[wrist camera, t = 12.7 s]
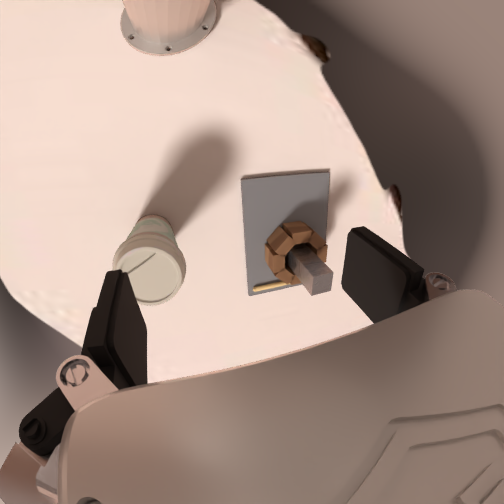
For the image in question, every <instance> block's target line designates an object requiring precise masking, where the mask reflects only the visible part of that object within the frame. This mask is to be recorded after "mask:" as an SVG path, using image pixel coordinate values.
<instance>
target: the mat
mask: <svg viewBox="0 0 504 504" xmlns="http://www.w3.org/2000/svg"><path fill="white" fill-rule="evenodd" d="M241 191H242V207H243V223H244V238H245V253H246V268H247V282H248V294H249V296H252V295H257V294H262V293H266V292H271V291H275V290H280V289H284V288H289V287H293V286H297V285H302V283H300V284H295V285H291V284H290V283H289V284H288V285H287V284H286V283H284V282H283V281H281V280H280V279H278V278H277V277H275V275H274V274H273V272H272V271H271V269H270V268H269V266H268V265H267V263H266V261H265V244H267V243H268V242H267V241H266V240H267V238H268V237H269V236H270V235H271V234H272V233H273V232H274V230H275V229H276V228H277V227H278V226H280V227H281V228H282V229H283V223H289V222H295V221H301V222H302V223H303V222H304V223H306V224H307V225H308V226H309V227H310V228H312V229H313V230H314V231H315V232H316V233H317V234H318V235H319V236H320V237H322V238H323V239H324V240H326V227H327V212H328V194H329V172H316V173H301V174H289V175H277V176H267V177H257V178H248V179H241ZM305 244H306V243H305ZM285 263H286V262H285Z"/></svg>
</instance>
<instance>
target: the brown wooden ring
mask: <svg viewBox="0 0 504 504" xmlns="http://www.w3.org/2000/svg"><path fill="white" fill-rule="evenodd" d="M266 241H267V242H268V243H267V244H265V261H266V263H267V265H268V266H269V268H270V269H271V271H272V272H273V274H274V275H275V277H277V278H278V279H280V280H281V281H283V282H284V283H286V284H287V285H288V284H289V283H290V284H291V285H295V284H300V283H301V281H300V280H299V279H298V277H297V276H296V275H295V273H294V272H293V271H292V270H291V268H290V267H289V266H288V264H287V263H285V255H286V254H287V253H288V252H289V251H290V250H291V248H292V247H293V246H294V245H295V244H301V243H306V245H307V246H308V247H309V248H310V249H311V250H312V251H313V252H314V253H315V254H316V255H317V256H318V257H319V258H320V259H321V260H322V261H323V262H326V257H327V247H328V245H326V244H325V243H326V241H325V240H324V239H323V238H322V237H320V236H319V235H318V234H317V233H316V232H315V231H314V230H313V229H312V228H310V227H309V226H308V225H307V224H306V223H304V222H303V223H302V222H301V221H295V222H289V223H283V229H282V228H281V227H280V226H278V227H277V228H276V229H275V230H274V232H273V233H272V234H271V235H270V236H269V237H268V238H267V240H266Z"/></svg>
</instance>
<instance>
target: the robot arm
mask: <svg viewBox="0 0 504 504" xmlns="http://www.w3.org/2000/svg"><path fill="white" fill-rule="evenodd" d="M122 1H123V4H124V6H125V8H124V10H123V13H122V15H121V22H120V25H121V31H122V34H123V36H124V38H125V40H126V41H127V42H128V43H129V45H130V46H132V47H133V48H134V49H136V50H137V51H140V52H142V53H145V54H149V55H156V56H165V55H173V54H177V53H181V52H183V51H186V50H188V49H190V48H192V47H194V46H195V45H197V44H198V43H200V42H201V41H202V40H203V39H204V38H205V37H206V36H207V35H208V34H209V32H210V31H211V29H212V27H213V25H214V23H215V19H216V15H217V13H216V5H215V1H214V0H122ZM203 28H206V29H207V30H203ZM132 37H134V39H132V40H131V38H132ZM167 49H171V50H170V51H167ZM423 272H424V269H423V268H422V267H420V266H419V265H418V264H417V263H415V262H414V261H413V260H411V259H410V258H409V257H407V256H406V255H404V254H403V253H402V252H400V251H399V250H398V249H396V248H395V247H393V246H392V245H391V244H389V243H388V242H386V241H385V240H383V239H382V238H381V237H379V236H378V235H376V234H375V233H373V232H372V231H370V230H369V229H367V228H366V227H364V226H362V227H356V228H352V229H351V231H350V232H349V233H348V237H347V245H346V253H345V261H344V268H343V274H342V281H341V284H342V288H343V290H344V291H345V292H346V293H347V294H348V295H349V296H350V297H351V298H352V300H353V301H354V302H355V303H356V304H357V305H358V306H359V307H360V308H361V309H362V311H363V312H364V313H365V314H366V315H367V316H368V317H369V318H370V320H371V321H372V322H373V323H374V324H372V325H370V326H367V327H364V328H362V329H359V330H356V331H353V332H351V333H348V334H345V335H342V336H339V337H337V338H334V339H331V340H328V341H325V342H322V343H319V344H315V345H312V346H309V347H306V348H303V349H299V350H296V351H293V352H289V353H286V354H282V355H279V356H275V357H271V358H268V359H264V360H260V361H256V362H252V363H248V364H244V365H240V366H236V367H231V368H227V369H222V370H218V371H213V372H208V373H203V374H198V375H193V376H188V377H182V378H177V379H171V380H166V381H160V382H155V383H149V384H147V328H146V324H145V322H144V319H143V316H142V314H141V311H140V308H139V305H138V303H137V300H136V297H135V294H134V291H133V288H132V285H131V282H130V279H129V276H128V274H127V272H123V271H122V270H121V269H118V270H113V271H108V272H107V273H106V276H105V279H104V283H103V286H102V289H101V292H100V296H99V299H98V303H97V307H94V308H93V310H92V312H91V316H90V320H89V323H88V327H87V331H86V335H85V339H84V344H83V348H82V353H81V355H76V356H72V357H70V358H68V359H67V360H65V361H64V362H63V363H62V364H61V365H60V367H59V368H58V370H57V374H56V381H57V383H58V386H59V387H58V388H57V389H56V390H54V391H53V392H52V393H51V394H50V395H49V396H48V397H47V398H45V399H44V400H43V401H42V402H41V403H40V404H39V405H37V406H36V407H35V408H34V409H33V410H32V411H31V412H30V413H28V414H27V415H26V416H25V417H24V418H23V420H22V422H21V424H20V427H19V437H20V439H21V442H20V443H19V444H17V443H15V444H14V446H13V447H12V449H11V451H10V453H9V455H8V456H7V458H6V460H5V462H4V464H3V465H2V467H1V469H0V498H1V499H2V500H3V502H4V503H5V504H504V307H503V306H502V305H501V304H499V303H498V302H497V301H496V300H495V299H493V298H492V297H490V296H489V295H488V294H486V293H485V292H483V291H479V290H472V289H469V290H459V291H457V290H456V287H455V284H454V282H453V281H452V280H451V278H449V277H448V276H446V275H444V274H441V273H436V272H432V273H429V274H427V275H426V277H425V279H423V278H422V275H423Z"/></svg>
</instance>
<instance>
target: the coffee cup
mask: <svg viewBox="0 0 504 504" xmlns="http://www.w3.org/2000/svg"><path fill="white" fill-rule="evenodd" d="M118 269H121V270H122V271H123V272H127V274H128V276H129V279H130V282H131V285H132V288H133V291H134V294H135V297H136V300H137V303H138V304H141V305H147V306H152V305H159V304H162V303H165V302H167V301H168V300H170V299H171V298H173V297H174V296H175V295H176V293H177V292H178V290H179V289H180V287H181V286H182V284H183V282H184V278H185V274H186V263H185V259H184V256H183V254H182V252H181V251H180V249H179V248H178V245H177V242H176V240H175V237H174V234H173V231H172V228H171V225H170V224H169V222H168V221H167V220H166V219H164V218H163V217H161V216H158V215H148V216H145V217H143V218H141V219H140V220H139V221H138V222H137V223H136V225H135V227H134V228H133V230H132V231H131V233H130V234H129V236H128V238H127V239H126V241H125V242H123V243H122V244H121V245H120V246H119V248H118V249H117V251H116V253H115V255H114V258H113V270H118Z"/></svg>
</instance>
